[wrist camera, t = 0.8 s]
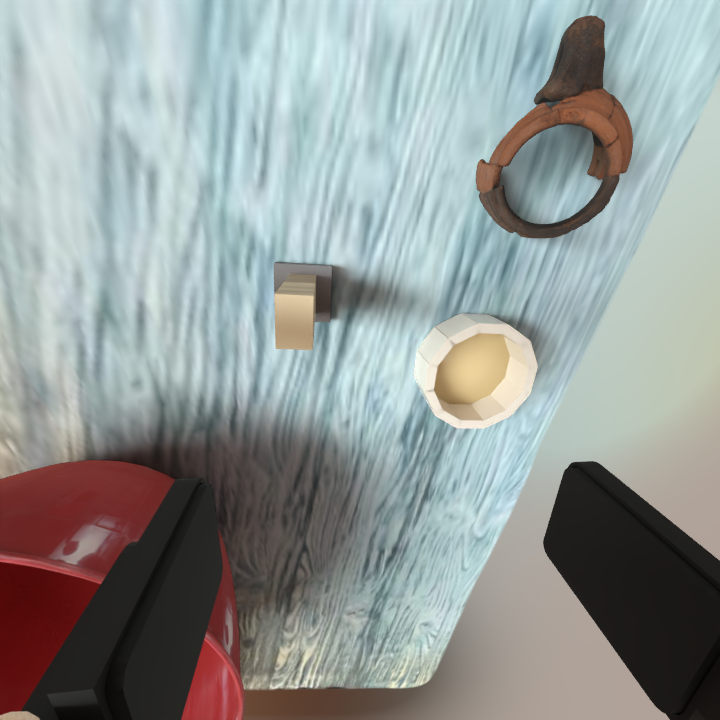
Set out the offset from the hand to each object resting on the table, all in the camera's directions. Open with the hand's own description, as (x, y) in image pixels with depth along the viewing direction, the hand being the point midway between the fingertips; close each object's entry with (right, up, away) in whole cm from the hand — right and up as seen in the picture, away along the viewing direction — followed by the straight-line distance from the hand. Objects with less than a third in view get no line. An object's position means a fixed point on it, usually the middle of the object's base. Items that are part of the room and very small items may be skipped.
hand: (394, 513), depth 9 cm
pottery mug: (+13, +22, +17) cm, 31 cm away
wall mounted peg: (-6, +10, +19) cm, 22 cm away
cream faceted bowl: (+9, +4, +23) cm, 24 cm away
